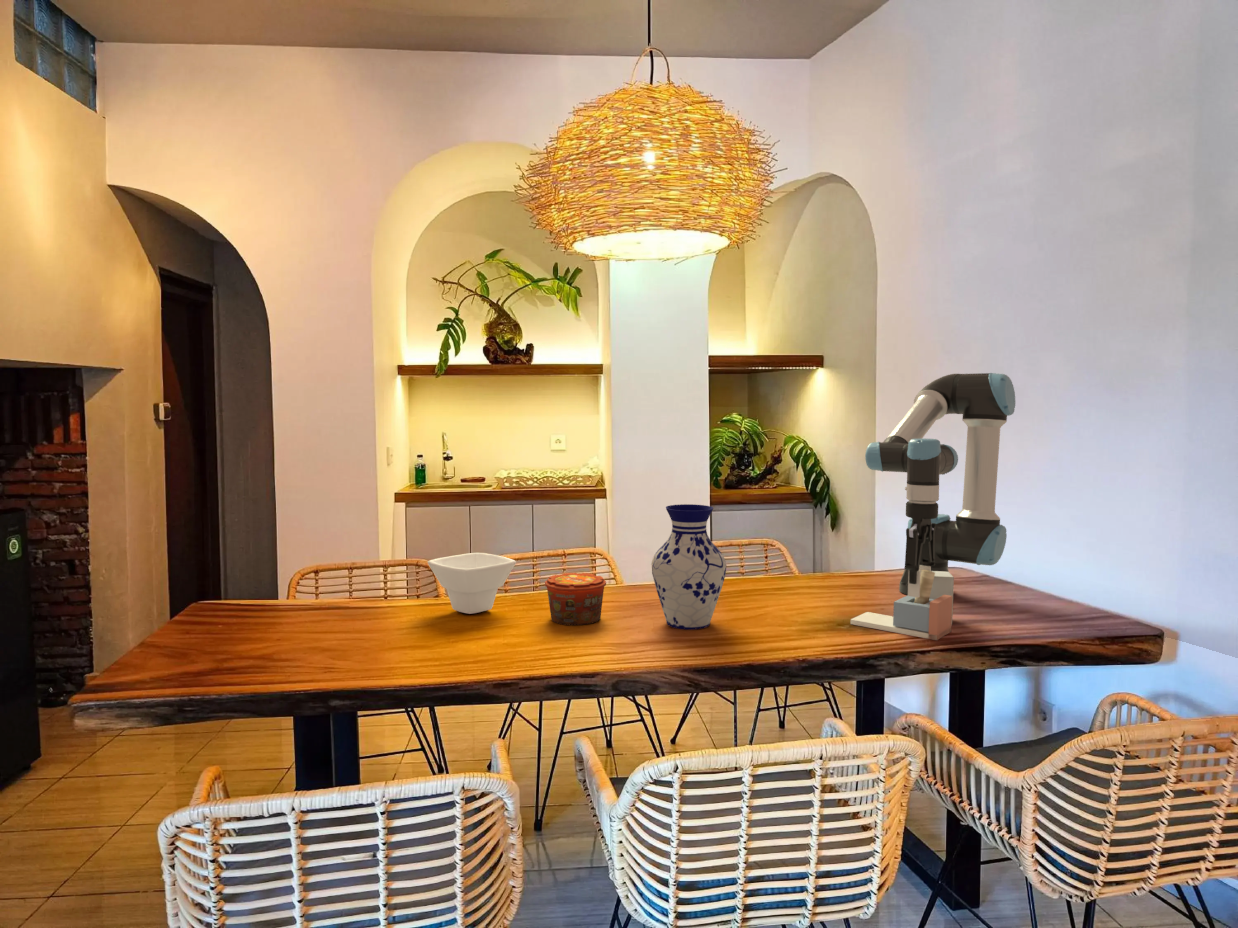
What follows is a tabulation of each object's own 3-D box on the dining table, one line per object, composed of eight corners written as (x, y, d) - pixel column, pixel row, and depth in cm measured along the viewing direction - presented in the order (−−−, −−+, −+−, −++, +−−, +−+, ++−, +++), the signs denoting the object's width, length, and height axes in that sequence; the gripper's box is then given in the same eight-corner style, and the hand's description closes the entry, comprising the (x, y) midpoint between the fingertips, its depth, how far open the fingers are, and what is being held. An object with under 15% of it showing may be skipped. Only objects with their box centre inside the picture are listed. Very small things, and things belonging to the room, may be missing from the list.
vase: (732, 617, 225) (734, 504, 223) (716, 637, 207) (718, 514, 205) (662, 611, 231) (663, 501, 229) (641, 629, 214) (642, 510, 211)
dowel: (926, 619, 214) (937, 572, 212) (921, 620, 211) (932, 573, 210) (913, 614, 216) (924, 569, 214) (909, 616, 213) (919, 570, 212)
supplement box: (952, 625, 219) (954, 576, 218) (922, 624, 220) (923, 575, 219) (947, 618, 226) (949, 571, 225) (918, 616, 227) (919, 569, 226)
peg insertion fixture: (866, 616, 228) (867, 582, 227) (951, 631, 213) (952, 595, 213) (850, 623, 220) (851, 589, 219) (936, 640, 206) (938, 603, 205)
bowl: (522, 611, 231) (522, 560, 230) (464, 625, 217) (463, 571, 216) (479, 599, 244) (479, 551, 243) (421, 612, 230) (420, 560, 229)
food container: (534, 623, 219) (534, 582, 218) (560, 609, 234) (560, 570, 233) (592, 630, 213) (592, 587, 213) (615, 614, 228) (615, 574, 228)
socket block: (907, 618, 220) (907, 595, 220) (942, 624, 214) (943, 600, 214) (893, 625, 213) (893, 601, 213) (929, 632, 207) (930, 607, 207)
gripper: (921, 496, 221) (918, 585, 223) (891, 503, 206) (888, 598, 208) (951, 499, 216) (947, 589, 218) (922, 506, 201) (919, 603, 203)
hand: (918, 593), depth 213 cm, fingers open, 6 cm apart
